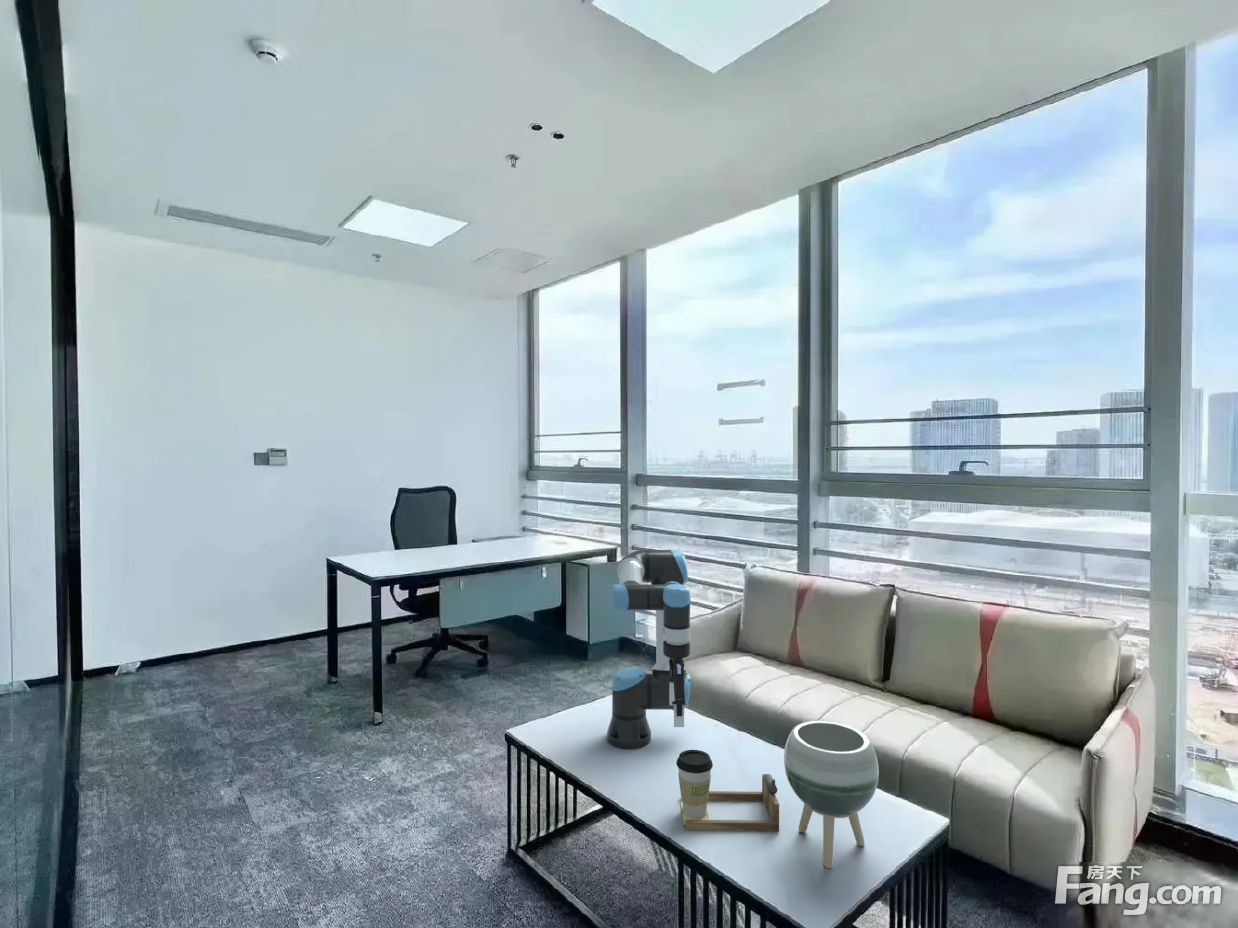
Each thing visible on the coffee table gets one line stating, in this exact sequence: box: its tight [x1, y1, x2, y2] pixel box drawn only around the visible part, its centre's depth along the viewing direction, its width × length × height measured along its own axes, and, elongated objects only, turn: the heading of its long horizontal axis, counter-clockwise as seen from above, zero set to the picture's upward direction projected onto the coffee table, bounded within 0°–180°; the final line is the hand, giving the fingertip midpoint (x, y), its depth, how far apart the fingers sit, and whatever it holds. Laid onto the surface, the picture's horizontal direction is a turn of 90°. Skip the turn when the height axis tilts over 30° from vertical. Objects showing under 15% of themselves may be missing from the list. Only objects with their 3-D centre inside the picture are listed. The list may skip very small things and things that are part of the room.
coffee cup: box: [676, 749, 714, 818], centre depth 167 cm, size 10×10×15 cm
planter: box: [783, 720, 880, 869], centre depth 153 cm, size 22×22×28 cm
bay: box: [679, 773, 780, 832], centre depth 167 cm, size 15×25×11 cm, turn 89°
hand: (676, 715), depth 174 cm, fingers open, 13 cm apart
